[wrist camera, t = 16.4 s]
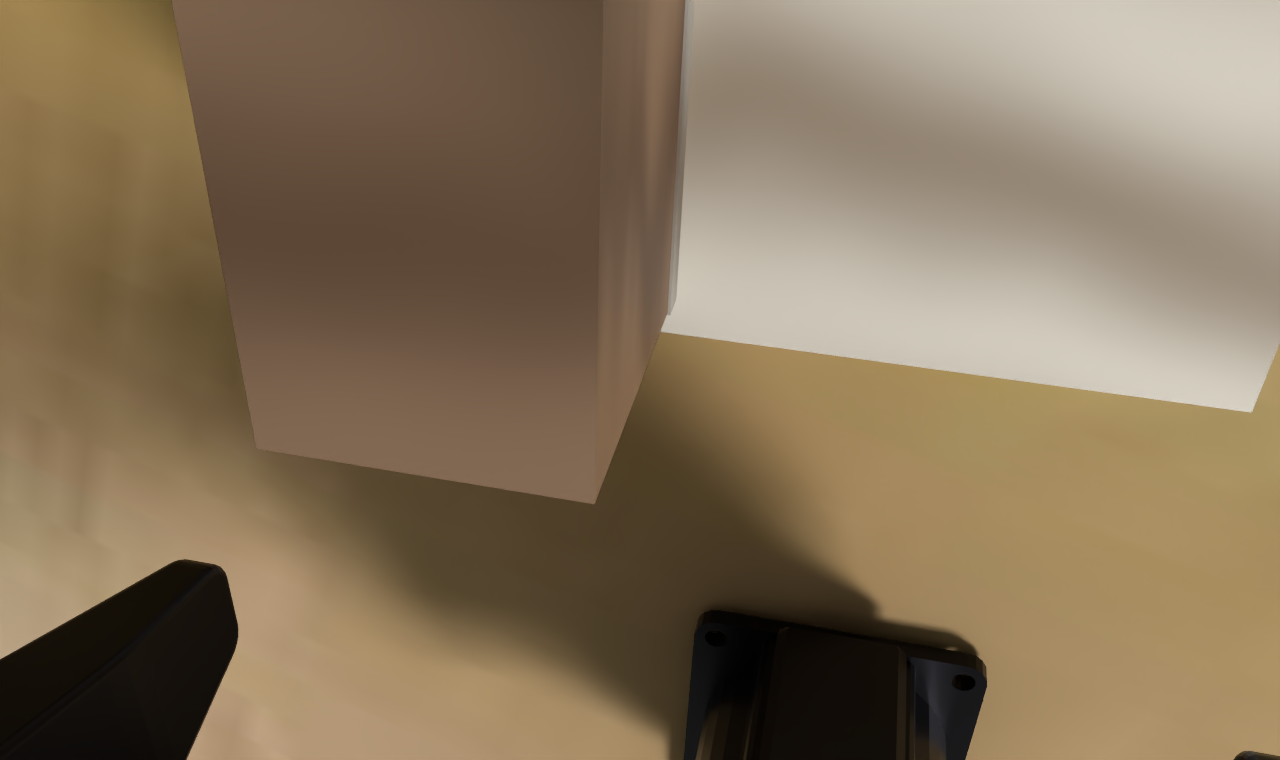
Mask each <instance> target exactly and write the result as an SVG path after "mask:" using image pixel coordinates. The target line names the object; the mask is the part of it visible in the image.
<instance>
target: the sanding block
mask: <svg viewBox="0 0 1280 760" xmlns="http://www.w3.org/2000/svg"><path fill="white" fill-rule="evenodd" d="M171 1H172V6H173V12H174V17H175V22H176V27H177V33H178V38H179V43H180V49H181V54H182V59H183V64H184V70H185V75H186V80H187V85H188V91H189V96H190V101H191V106H192V112H193V117H194V122H195V128H196V133H197V138H198V143H199V149H200V154H201V159H202V164H203V170H204V175H205V180H206V185H207V191H208V196H209V201H210V207H211V212H212V217H213V222H214V228H215V233H216V238H217V243H218V249H219V254H220V259H221V264H222V270H223V275H224V280H225V286H226V291H227V296H228V301H229V307H230V312H231V317H232V322H233V328H234V333H235V338H236V343H237V349H238V354H239V359H240V364H241V370H242V375H243V380H244V386H245V391H246V396H247V401H248V407H249V412H250V417H251V422H252V428H253V433H254V438H255V443H256V449H261V450H267V451H273V452H279V453H285V454H291V455H297V456H303V457H309V458H315V459H322V460H328V461H334V462H340V463H346V464H352V465H358V466H364V467H370V468H376V469H382V470H389V471H395V472H401V473H407V474H413V475H419V476H425V477H431V478H437V479H443V480H450V481H456V482H462V483H468V484H474V485H480V486H486V487H492V488H498V489H504V490H510V491H517V492H523V493H529V494H535V495H541V496H547V497H553V498H559V499H565V500H571V501H577V502H584V503H590V504H595V502H596V499H597V497H598V494H599V491H600V489H601V486H602V483H603V481H604V478H605V476H606V473H607V470H608V468H609V465H610V463H611V460H612V457H613V455H614V452H615V449H616V447H617V444H618V442H619V439H620V436H621V434H622V431H623V428H624V426H625V423H626V421H627V418H628V415H629V413H630V410H631V407H632V405H633V402H634V400H635V397H636V394H637V392H638V389H639V386H640V384H641V381H642V379H643V376H644V373H645V371H646V368H647V365H648V363H649V360H650V358H651V355H652V352H653V350H654V347H655V344H656V342H657V339H658V337H659V334H660V331H661V329H662V326H663V323H664V321H665V318H666V316H667V315H671V312H672V310H673V307H674V304H675V302H676V297H677V280H678V264H679V248H680V231H681V215H682V199H683V183H684V166H685V150H686V134H687V117H688V101H689V85H690V69H691V52H692V36H693V20H694V3H695V0H171Z"/></svg>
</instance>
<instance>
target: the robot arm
mask: <svg viewBox="0 0 1280 760" xmlns="http://www.w3.org/2000/svg"><path fill="white" fill-rule="evenodd" d="M716 630H717V631H720V632H722V633H723V634H716V633H714V632H712V631H716ZM237 640H238V623H237V619H236V614H235V610H234V606H233V601H232V597H231V592H230V588H229V584H228V579H227V576H226V573H225V572H224V570H223V569H222V568H221V567H220V566H217V565H215V564H209V563H204V562H198V561H193V560H186V559H184V560H178V561H175V562H172V563H170V564H168V565H167V566H165V567H163V568H161V569H159V570H158V571H156V572H154V573H152V574H151V575H149V576H147V577H145V578H144V579H142V580H140V581H138V582H136V583H135V584H133V585H131V586H129V587H128V588H126V589H124V590H122V591H121V592H119V593H117V594H115V595H113V596H112V597H110V598H108V599H106V600H105V601H103V602H101V603H99V604H98V605H96V606H94V607H92V608H90V609H89V610H87V611H85V612H83V613H82V614H80V615H78V616H76V617H74V618H73V619H71V620H69V621H67V622H66V623H64V624H62V625H60V626H59V627H57V628H55V629H53V630H51V631H50V632H48V633H46V634H44V635H43V636H41V637H39V638H37V639H36V640H34V641H32V642H30V643H28V644H27V645H25V646H23V647H21V648H20V649H18V650H16V651H14V652H13V653H11V654H9V655H7V656H5V657H4V658H2V659H0V760H187V757H188V755H189V753H190V751H191V749H192V746H193V744H194V742H195V740H196V737H197V735H198V733H199V731H200V728H201V726H202V724H203V722H204V719H205V717H206V715H207V713H208V710H209V708H210V706H211V704H212V701H213V699H214V697H215V695H216V692H217V690H218V688H219V686H220V683H221V681H222V679H223V677H224V674H225V672H226V670H227V668H228V665H229V663H230V661H231V659H232V656H233V654H234V651H235V648H236V645H237ZM959 674H966V675H969V676H968V677H959V676H957V675H959ZM986 688H987V675H986V666H985V664H984V663H983V661H982V660H981V659H979V658H978V657H976V656H974V655H971V654H968V653H963V652H957V651H951V650H945V649H940V648H934V647H928V646H922V645H917V644H911V643H905V642H899V641H894V640H888V639H882V638H876V637H870V636H865V635H859V634H853V633H847V632H842V631H836V630H830V629H824V628H819V627H813V626H807V625H801V624H796V623H790V622H784V621H778V620H773V619H767V618H761V617H755V616H750V615H744V614H738V613H732V612H727V611H721V610H711V611H707V612H704V613H703V614H702V615H701V616H700V617H699V619H698V622H697V626H696V630H695V634H694V645H693V657H692V669H691V681H690V693H689V705H688V717H687V728H686V740H685V752H684V760H965V759H966V755H967V752H968V749H969V745H970V742H971V738H972V735H973V732H974V728H975V725H976V722H977V718H978V715H979V711H980V708H981V705H982V701H983V698H984V695H985V691H986ZM1234 760H1280V756H1276V755H1270V754H1264V753H1259V752H1253V751H1243V752H1241V753H1239V754H1238V755H1237V756H1236V757H1235V759H1234Z"/></svg>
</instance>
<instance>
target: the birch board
mask: <svg viewBox="0 0 1280 760" xmlns="http://www.w3.org/2000/svg"><path fill="white" fill-rule="evenodd" d="M660 332H666V333H674V334H681V335H688V336H696V337H703V338H710V339H718V340H725V341H732V342H739V343H747V344H754V345H761V346H769V347H776V348H783V349H791V350H798V351H805V352H813V353H820V354H827V355H835V356H842V357H849V358H857V359H864V360H871V361H879V362H886V363H893V364H901V365H908V366H915V367H923V368H930V369H937V370H945V371H952V372H959V373H966V374H974V375H981V376H988V377H996V378H1003V379H1010V380H1018V381H1025V382H1032V383H1040V384H1047V385H1054V386H1062V387H1069V388H1076V389H1084V390H1091V391H1098V392H1106V393H1113V394H1120V395H1128V396H1135V397H1142V398H1150V399H1157V400H1164V401H1172V402H1179V403H1186V404H1194V405H1201V406H1208V407H1215V408H1223V409H1230V410H1237V411H1245V412H1252V410H1253V408H1254V405H1255V403H1256V400H1257V398H1258V395H1259V393H1260V390H1261V388H1262V386H1263V383H1264V381H1265V378H1266V376H1267V373H1268V371H1269V368H1270V366H1271V363H1272V361H1273V358H1274V356H1275V354H1276V351H1277V349H1278V346H1279V344H1280V0H695V3H694V20H693V36H692V52H691V69H690V85H689V101H688V117H687V134H686V150H685V166H684V183H683V199H682V215H681V231H680V248H679V264H678V280H677V297H676V302H675V304H674V307H673V310H672V312H671V315H667V316H666V318H665V321H664V323H663V326H662V329H661V331H660Z"/></svg>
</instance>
